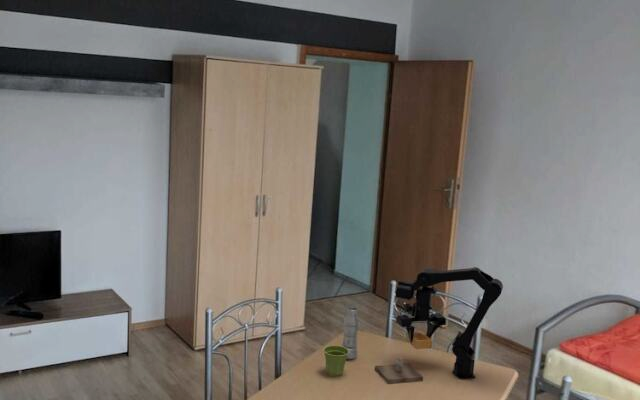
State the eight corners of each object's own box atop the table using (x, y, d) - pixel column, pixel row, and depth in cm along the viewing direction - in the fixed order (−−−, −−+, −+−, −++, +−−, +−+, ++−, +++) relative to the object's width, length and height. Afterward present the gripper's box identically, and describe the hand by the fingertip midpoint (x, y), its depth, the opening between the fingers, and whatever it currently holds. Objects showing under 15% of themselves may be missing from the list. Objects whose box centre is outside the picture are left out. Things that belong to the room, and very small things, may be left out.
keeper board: (408, 367, 252) (410, 349, 251) (422, 380, 241) (424, 362, 240) (374, 369, 248) (376, 351, 246) (387, 383, 236) (389, 365, 235)
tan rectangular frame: (421, 339, 258) (421, 331, 257) (431, 348, 250) (432, 340, 249) (405, 339, 256) (406, 332, 255) (416, 349, 247) (416, 341, 247)
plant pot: (345, 379, 237) (346, 357, 236) (319, 375, 239) (321, 353, 237) (349, 369, 246) (351, 347, 245) (324, 365, 248) (326, 343, 246)
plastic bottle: (357, 355, 260) (361, 306, 257) (356, 362, 253) (360, 312, 250) (341, 353, 260) (344, 305, 257) (339, 360, 254) (343, 310, 250)
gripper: (434, 294, 260) (431, 332, 263) (391, 296, 254) (388, 334, 257) (448, 304, 250) (444, 343, 253) (404, 305, 244) (400, 345, 247)
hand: (419, 341), depth 253 cm, fingers closed on tan rectangular frame, 7 cm apart
